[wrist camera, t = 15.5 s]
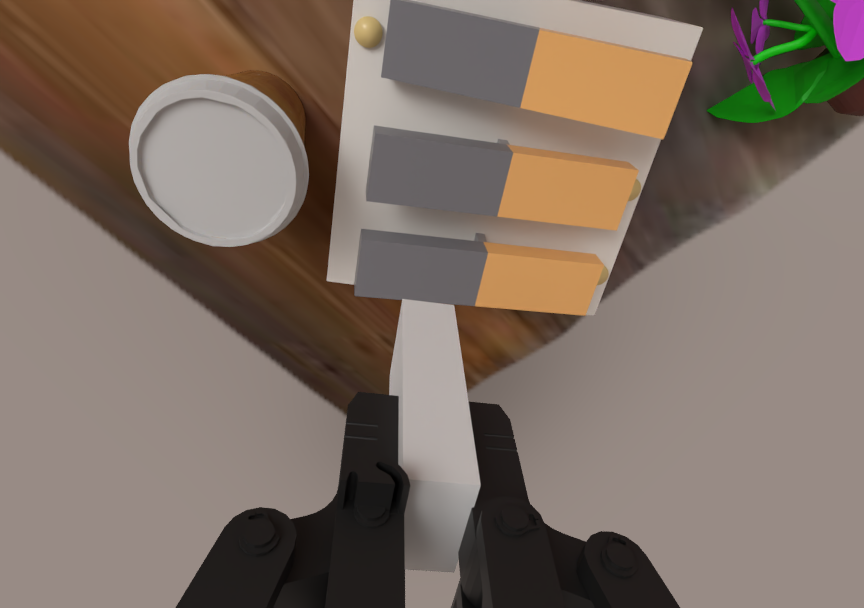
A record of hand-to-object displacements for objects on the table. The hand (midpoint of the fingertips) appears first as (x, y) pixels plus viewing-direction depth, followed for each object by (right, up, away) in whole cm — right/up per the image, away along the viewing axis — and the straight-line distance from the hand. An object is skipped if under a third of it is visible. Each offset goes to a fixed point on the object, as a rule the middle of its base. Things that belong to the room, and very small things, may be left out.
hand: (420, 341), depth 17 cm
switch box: (+4, +13, +26) cm, 29 cm away
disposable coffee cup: (-12, +14, +24) cm, 30 cm away
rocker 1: (+6, +14, +15) cm, 21 cm away
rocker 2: (+3, +3, +21) cm, 22 cm away
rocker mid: (+5, +9, +18) cm, 21 cm away
